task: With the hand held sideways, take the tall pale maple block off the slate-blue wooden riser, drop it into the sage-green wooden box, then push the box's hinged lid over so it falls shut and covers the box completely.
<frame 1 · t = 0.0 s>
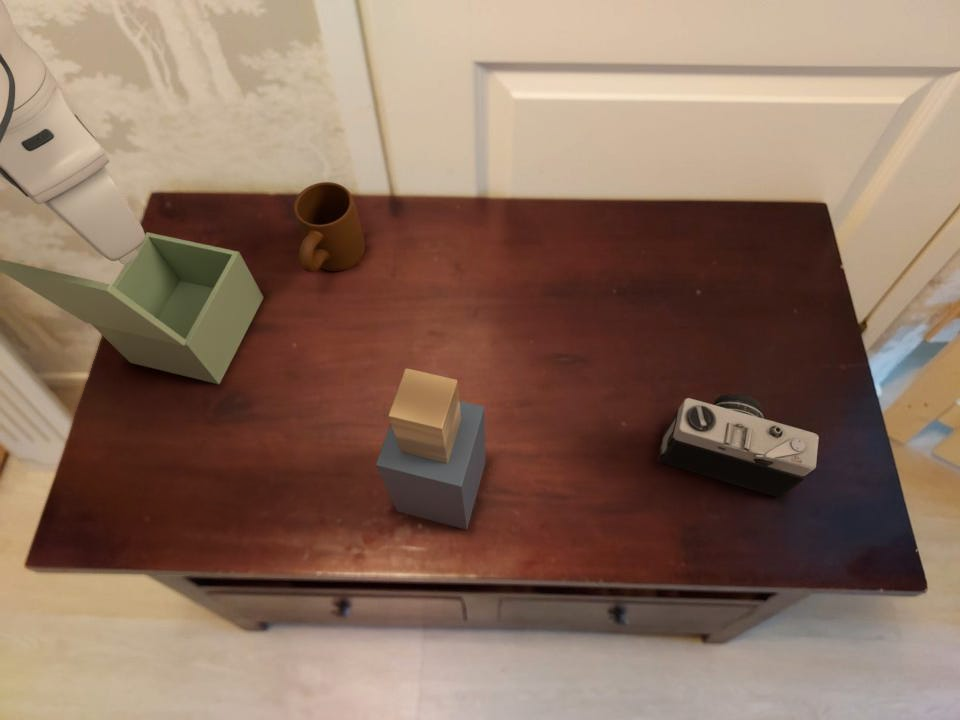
hand: (101, 230, 64), 21 cm above the table, tool pointing down, fingers open, 8 cm apart
block: (431, 435, 60), point 15 cm above the table, touching riser
box: (198, 329, 83), on the table
camera: (723, 452, 75), on the table
box lid: (96, 305, 65), point 17 cm above the table, hinge at 100.0°
riser: (442, 486, 73), on the table
mug: (333, 264, 88), on the table
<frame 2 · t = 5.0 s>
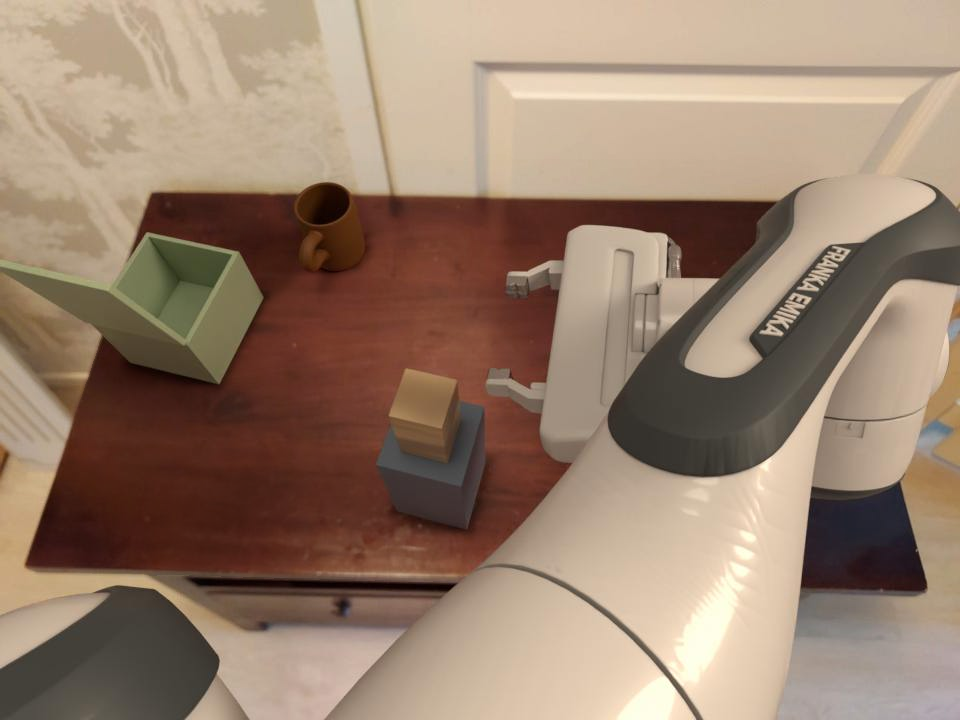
hand: (497, 331, 52), 26 cm above the table, tool horizontal, fingers open, 8 cm apart
nothing on the table moved.
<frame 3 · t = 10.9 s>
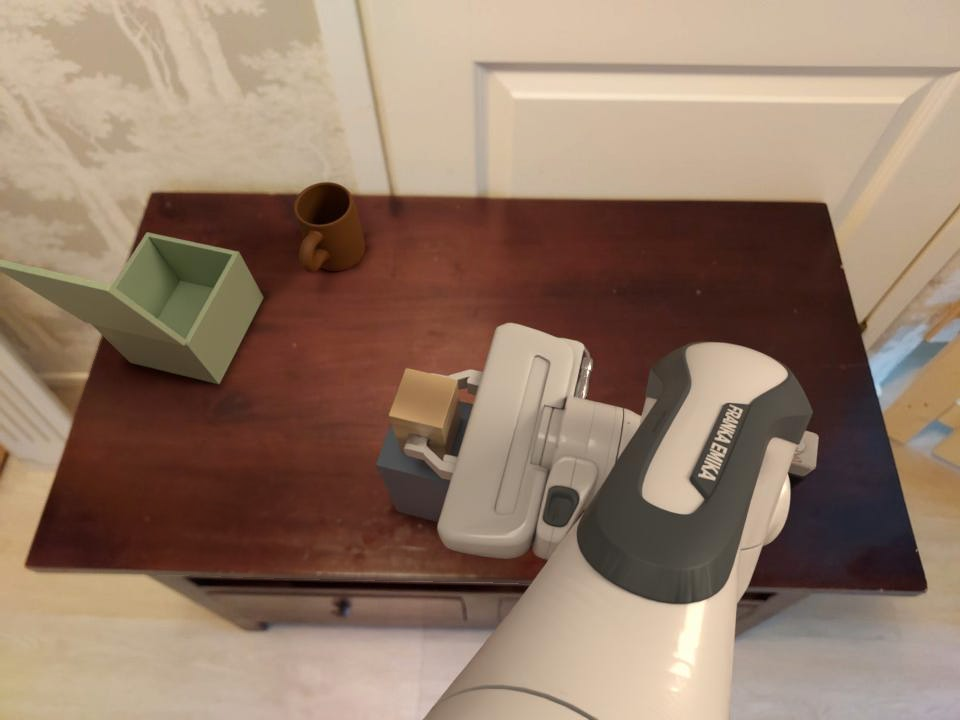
hand: (416, 413, 56), 19 cm above the table, tool horizontal, fingers closed on block, 4 cm apart
block: (431, 434, 60), point 15 cm above the table, touching gripper, riser
everything else where it was.
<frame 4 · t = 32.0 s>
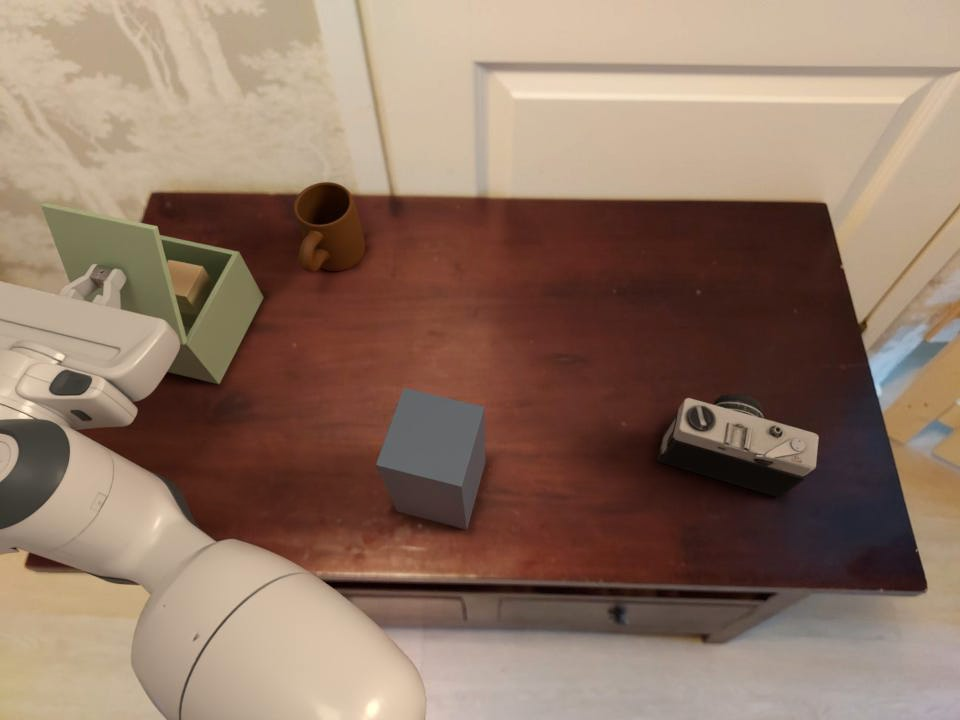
hand: (111, 269, 66), 18 cm above the table, tool horizontal, fingers closed
block: (203, 314, 84), point 1 cm above the table, touching box
box lid: (118, 277, 67), point 16 cm above the table, hinge at 67.8°
everything else where it was.
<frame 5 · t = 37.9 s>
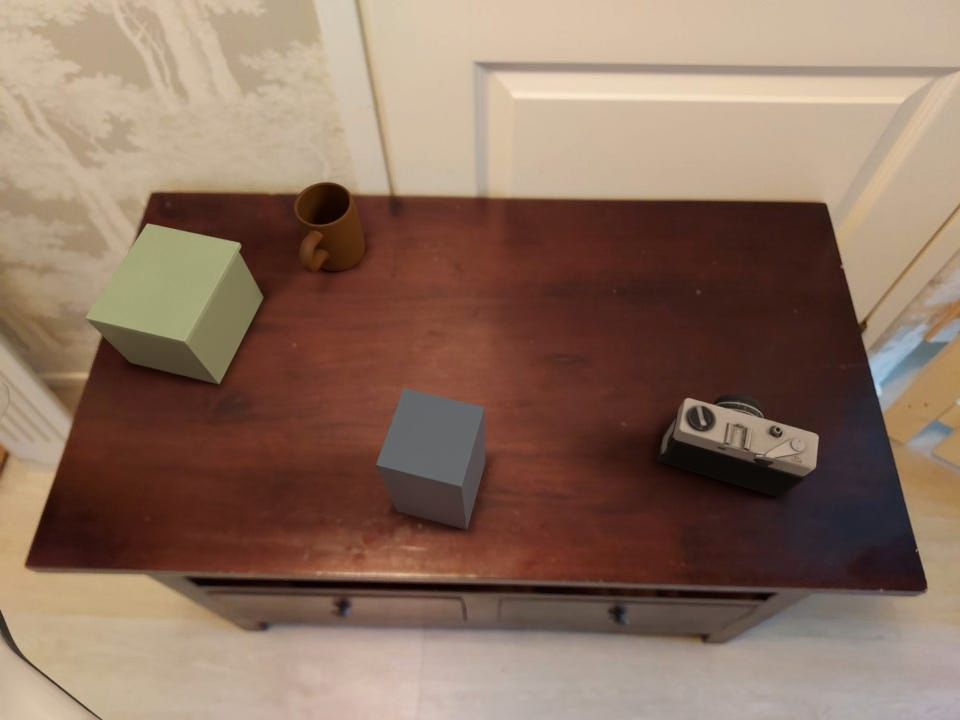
box lid: (166, 280, 75), point 10 cm above the table, hinge at -0.2°
everything else where it was.
at the end: block inside the target area in the box (1.9 cm from its centre), point 0.6 cm above the box's base; box lid at +0° (first picture: +100°) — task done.
